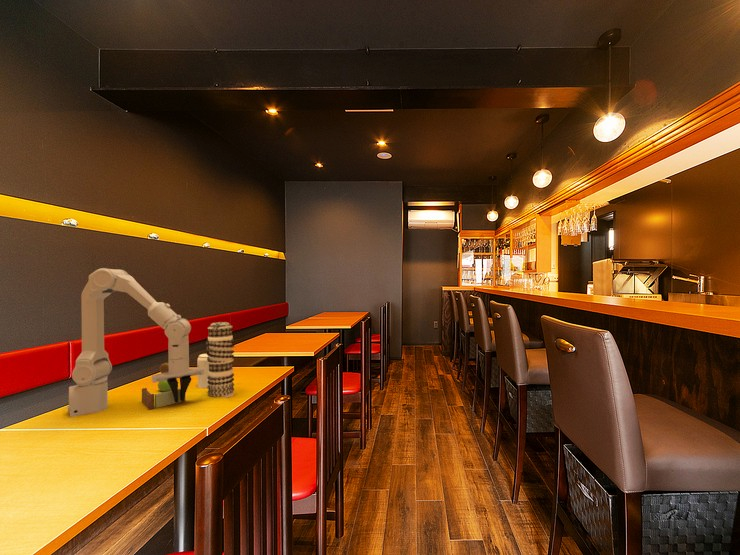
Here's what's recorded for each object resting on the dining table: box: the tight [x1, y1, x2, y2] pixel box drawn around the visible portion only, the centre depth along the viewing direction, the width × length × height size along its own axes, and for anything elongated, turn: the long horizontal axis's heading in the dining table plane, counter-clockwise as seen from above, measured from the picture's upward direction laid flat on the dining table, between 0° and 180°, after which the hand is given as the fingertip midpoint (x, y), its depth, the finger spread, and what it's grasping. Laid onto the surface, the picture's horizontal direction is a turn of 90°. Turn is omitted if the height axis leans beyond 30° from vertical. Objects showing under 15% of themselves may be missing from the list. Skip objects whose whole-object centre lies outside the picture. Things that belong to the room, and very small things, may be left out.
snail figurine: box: [157, 362, 172, 393], centre depth 129 cm, size 5×6×12 cm
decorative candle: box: [205, 321, 235, 399], centre depth 124 cm, size 9×9×25 cm
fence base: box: [141, 387, 155, 410], centre depth 113 cm, size 2×11×4 cm, turn 43°
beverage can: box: [196, 353, 209, 389], centre depth 135 cm, size 8×8×12 cm
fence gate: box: [154, 388, 186, 409], centre depth 114 cm, size 9×1×4 cm, turn 137°
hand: (179, 401), depth 113 cm, fingers closed
